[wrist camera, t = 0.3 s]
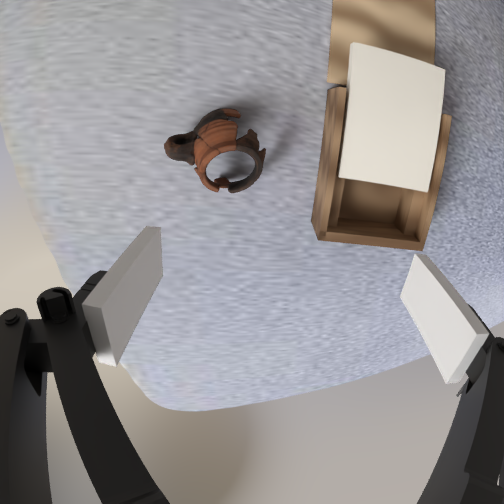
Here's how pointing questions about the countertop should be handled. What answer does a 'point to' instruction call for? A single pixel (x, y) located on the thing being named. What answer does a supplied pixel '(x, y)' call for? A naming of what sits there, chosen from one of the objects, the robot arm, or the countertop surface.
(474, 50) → the countertop surface
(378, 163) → the cover plate
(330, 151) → the walnut box
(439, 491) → the robot arm
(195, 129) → the pottery mug
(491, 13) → the countertop surface
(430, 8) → the cork mat
